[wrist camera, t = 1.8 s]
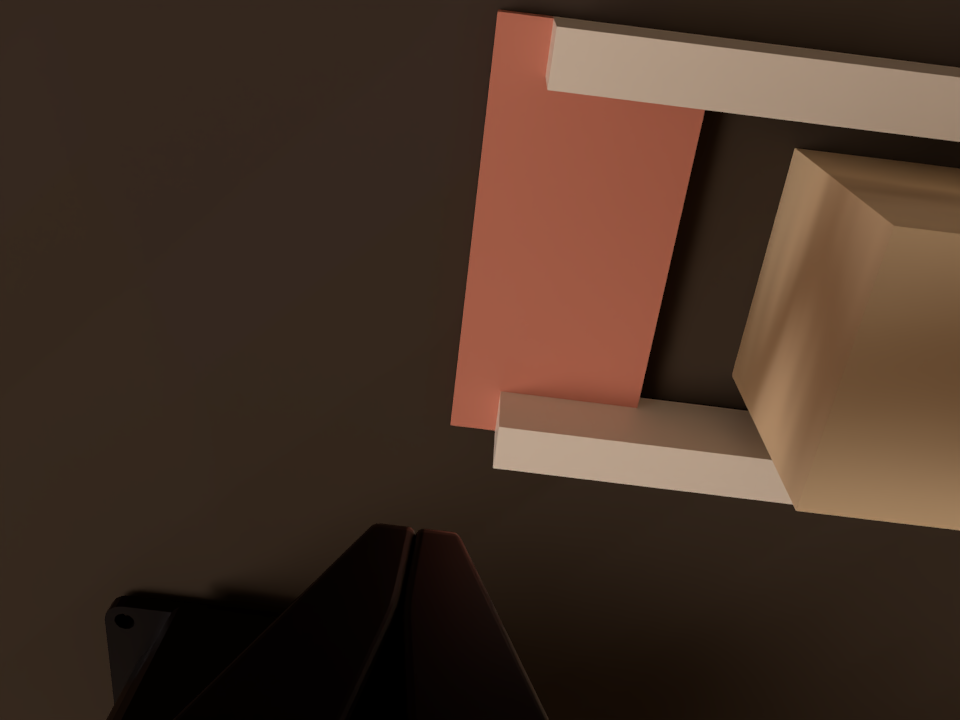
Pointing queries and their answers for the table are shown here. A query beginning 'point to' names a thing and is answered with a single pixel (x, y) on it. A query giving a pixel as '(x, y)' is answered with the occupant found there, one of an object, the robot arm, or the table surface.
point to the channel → (627, 235)
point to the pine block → (860, 340)
